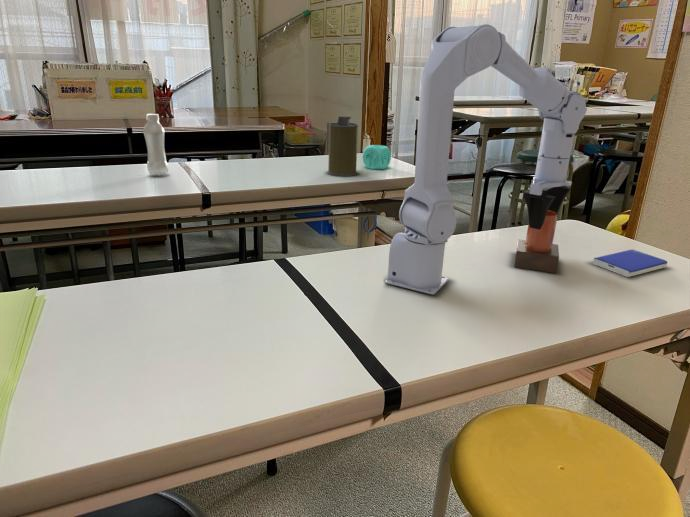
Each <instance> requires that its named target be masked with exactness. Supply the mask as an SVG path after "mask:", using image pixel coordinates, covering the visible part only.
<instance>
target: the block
mask: <svg viewBox="0 0 690 517" xmlns="http://www.w3.org/2000/svg"><path fill="white" fill-rule="evenodd" d="M525 242H526V239H518V240H517V245H516V251H515V256H514V266H513V268H519V269H525V270H531V271H538V272H543V273H544V272H545V273H551V274H557V270H558V264H559V260H560V252H559V244H556V243H553V244H552V249H551V251H548V252H538V251H533V250H530V249H528V248H526V247H525Z"/></svg>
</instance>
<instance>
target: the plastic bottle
mask: <svg viewBox="0 0 690 517" xmlns="http://www.w3.org/2000/svg"><path fill="white" fill-rule="evenodd" d="M146 121H147V122H146V123H145V125H144V127H143V131H142V132H143V136H144V140H145V145H146V150H147V171H148V174H149V175H151V176H156V177H160V176H165V175H168V173H169V163H168V161H167V156H166V151H165V150H166V149H165V132H166V131H165V129H164V127H163V125H162V124H161V123H160V116H159V113H146Z"/></svg>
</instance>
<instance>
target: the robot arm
mask: <svg viewBox="0 0 690 517" xmlns="http://www.w3.org/2000/svg"><path fill="white" fill-rule="evenodd" d="M430 47H431V48H430V54H429V55H428V58H427V61H426V63H425V65H424V67H423V69H422V72H421V74H420V83H419V99H418V114H417V116H418V118H417V133H416V147H415V148H416V151H415V165H414V182H413V184H412V185H410V186H409V187H408V188H406V189H405V190H404V197H403V201H402V203H401V205H400V208H399V212H398V219H399V221H400V224H401V225H402V226H403V227H404V229H403V230H404V231H403V232H397V233H396V234H394V236H393V238H392V240H391V242H390V246H389V253H388V268H387V279H385V283H386V284H388V285H392V286H396V287H400V288H404V289H408V290H412V291H416V292H420V293H424V294H428V295H436V294H437V293H438V291H440V290H441V289H442V288H443V287H444V286H445V285H446V284H447V283H448V282H449V277H447V276H443V268H444V259H445V248H446V243H448V240H449V239H451V237H452V235H454V232H455V231H456V227H457V222H458V221H457V215H456V213H455V208H454V206H455V200H454V198H453V195H452V193H451V191H450V190H449V187H448V185H447V184H448V172H449V162H450V150H451V137H452V124H453V112H454V104H455V103H454V101H455V91H456V89H457V88H458V87H459V86H460V85H461V84H462V83H464V82H465V81H466V80H467V79H468V78H470V77H473V76H474V75H476V74H478V73H480V72H482V71H484V70H486V69H488V68H490V67H492V68H493V69H495V70H496V71H498V73H501V74H502V75H504V77H506V78H508V79H509V80H510V81H512V82H514V83H515V84H516V85H518V93H519V95H520V97H522V98H523V99H524V100H525V101H527V102H528V103H529V104H531V105H532V106H533V107H534V108H536V109H537V110H538V116H539V118H540V119H541V120H543V124H542V131H541V136H540V142H539V149H538V154H537V161H536V167H535V171H534V172H535V173H534V176H533V178H532V182H531V184H530V189H526V190H524V191H523V194H522V196H523V199H524V201H525V205H526V210H527V216H528V224H529V227H530V228H534V229H539V230H540V229H541V227H542V225H543V223H544V219H545V216H546V213H547V211H548V210H551V211H554V212H557V213H558V214H559V211H560V209H561V207H562V205H563V202H564V200H565V199H566V197H567V196H568V195H569V193H571V191H572V187H571V186H572V184H573V181H571V180H567V177H568V170H569V166H570V160H571V154H572V149H573V143H574V138H575V134H577V132H578V131H579V128H580V124H581V122H582V120H583V119H584V118H585V116H586V114H587V111H588V107H586V106H587V102H586V99H585V97H584V96H583V95H582V93H580V92H579V91H574V90H573V91H572V90H571V91H570V89H569V88H568V85H567V83H565V82H564V81H563V82H561V81H560V80H559V79H557V78H556V77H555V76H554V75H553V72H554V70H552V69H551V68H550V67H542V66H541V67H535V68H533V67H532V65H531V64H530V63H529V62H528V61H526V60H525V59H524V58H523V57H522V56H521V54H519V53H518V52H517V51H516V50H515V49H514V48H513V46H511V44H509V43H508V41H507V38H506V35H505V34H504V33H502V32H500V31H498V29H497V28H496V27H495V26H493V25H491V24H486V23H485V24H484V23H483V24H479V25H472V26H470V25H469V26H459V27H458V26H449V27H446V28H445V29H443V30H442V31H440V32H439V33H438V34H437V35H436V36H435V37H434V38H432V40H431V46H430Z"/></svg>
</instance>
